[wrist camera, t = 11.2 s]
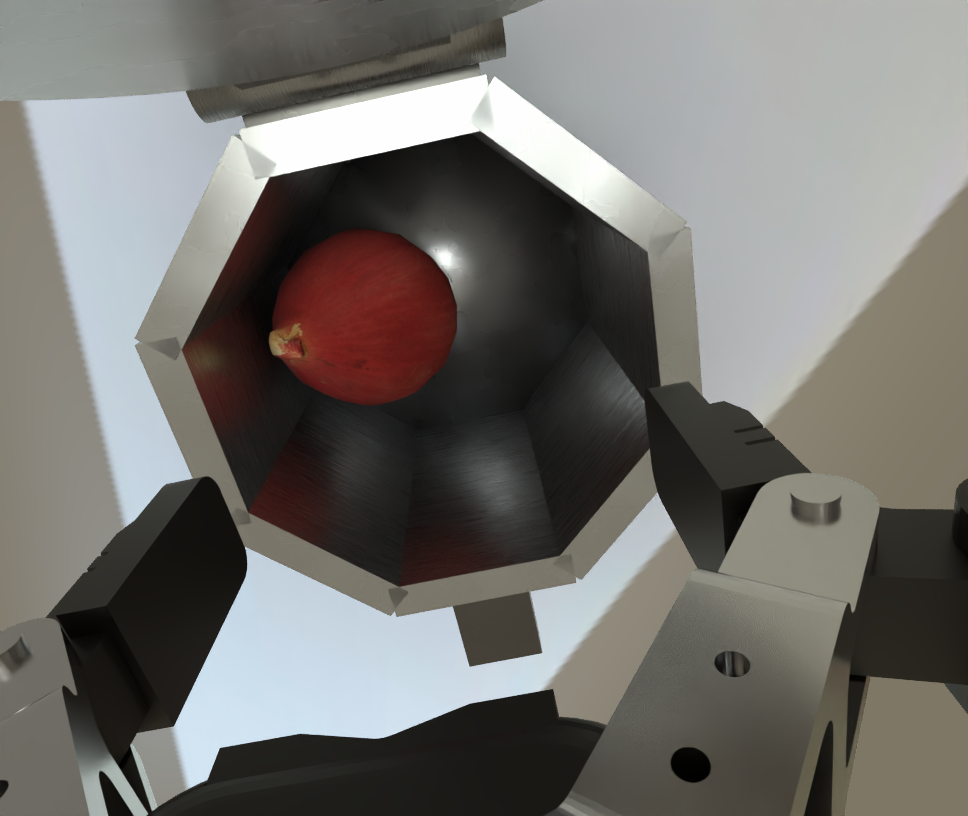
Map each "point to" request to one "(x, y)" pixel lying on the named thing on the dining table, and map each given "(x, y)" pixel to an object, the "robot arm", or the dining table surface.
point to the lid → (238, 47)
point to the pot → (471, 361)
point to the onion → (364, 317)
